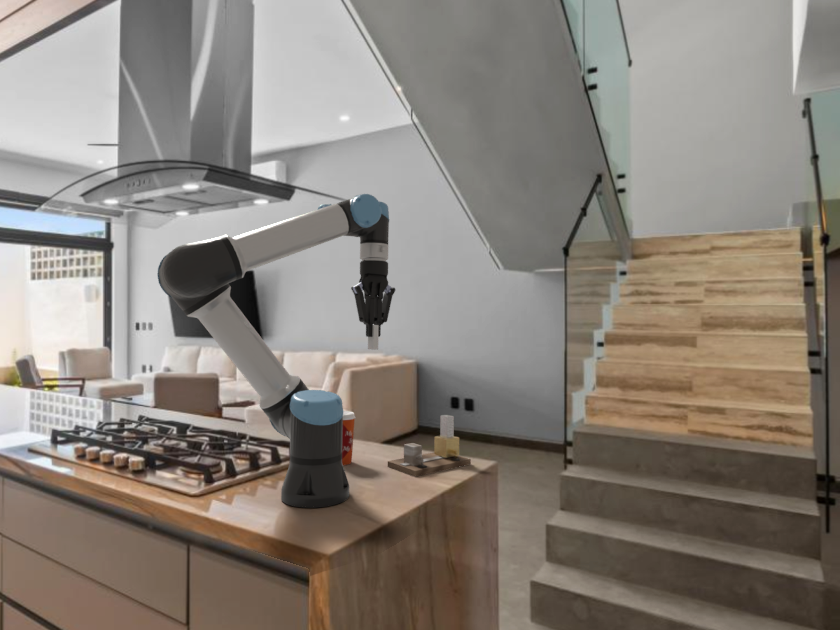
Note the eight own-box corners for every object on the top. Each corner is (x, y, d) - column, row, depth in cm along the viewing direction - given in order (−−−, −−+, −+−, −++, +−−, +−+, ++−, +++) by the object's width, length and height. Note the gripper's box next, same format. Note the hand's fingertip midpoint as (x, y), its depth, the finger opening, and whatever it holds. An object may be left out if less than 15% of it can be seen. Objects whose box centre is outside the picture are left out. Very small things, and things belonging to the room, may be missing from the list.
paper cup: (353, 466, 150) (353, 415, 150) (325, 466, 150) (325, 415, 150) (357, 459, 158) (357, 410, 158) (330, 459, 158) (331, 410, 158)
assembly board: (414, 476, 141) (415, 451, 141) (387, 466, 151) (387, 442, 151) (470, 464, 154) (470, 441, 154) (442, 455, 163) (442, 433, 163)
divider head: (450, 459, 151) (451, 419, 151) (434, 454, 157) (434, 415, 157) (464, 456, 154) (464, 417, 154) (447, 451, 160) (447, 413, 160)
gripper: (361, 257, 139) (360, 350, 139) (402, 261, 148) (401, 349, 147) (345, 259, 145) (344, 349, 145) (385, 263, 153) (384, 348, 153)
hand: (373, 349), depth 146 cm, fingers closed
